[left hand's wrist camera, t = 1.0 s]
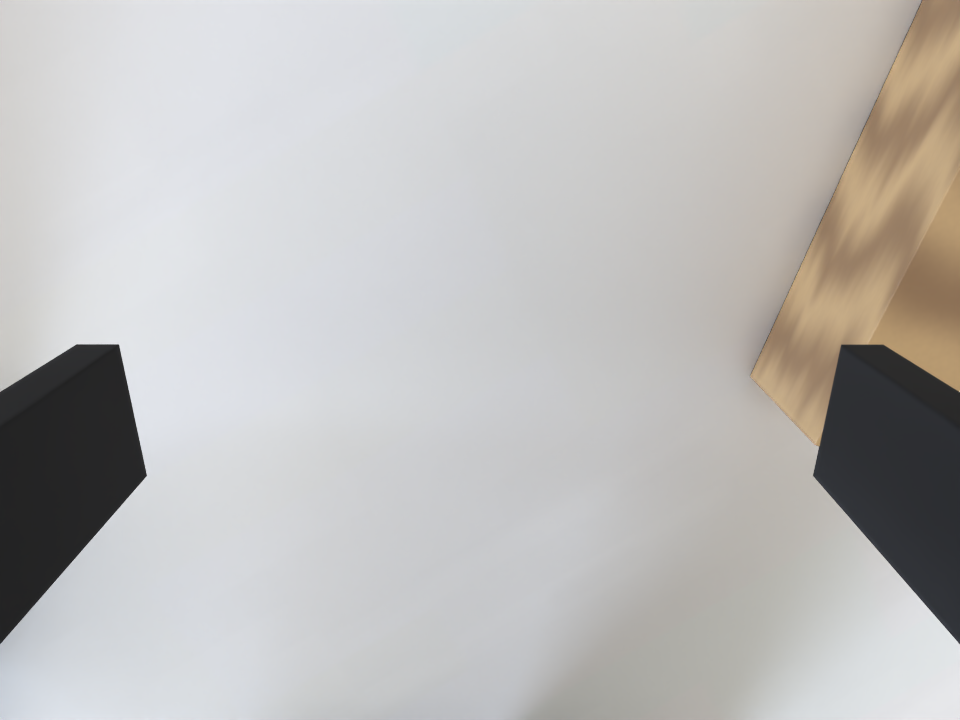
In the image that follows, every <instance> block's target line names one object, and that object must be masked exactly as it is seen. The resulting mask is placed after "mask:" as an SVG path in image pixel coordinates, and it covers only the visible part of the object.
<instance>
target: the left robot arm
mask: <svg viewBox="0 0 960 720" xmlns="http://www.w3.org/2000/svg"><path fill="white" fill-rule="evenodd" d="M146 476H147V474H146V470H145V465H144V460H143V455H142V451H141V446H140V441H139V437H138V432H137V427H136V423H135V418H134V413H133V409H132V404H131V399H130V394H129V390H128V385H127V380H126V376H125V371H124V366H123V362H122V357H121V352H120V348H119V345H75V346H74V347H72V348H70V349H69V350H67V351H66V352H64V353H62V354H61V355H59V356H57V357H56V358H54V359H53V360H51V361H49V362H48V363H46V364H45V365H43V366H41V367H40V368H38V369H37V370H35V371H33V372H32V373H30V374H29V375H27V376H25V377H24V378H22V379H21V380H19V381H17V382H16V383H14V384H12V385H11V386H9V387H8V388H6V389H4V390H3V391H1V392H0V644H1V643H2V641H3V640H4V639H5V638H6V637H7V636H8V634H9V633H10V632H11V631H12V630H13V629H14V628H15V626H16V625H17V624H18V623H19V622H20V621H21V620H22V618H23V617H24V616H25V615H26V614H27V613H28V612H29V610H30V609H31V608H32V607H33V606H34V605H35V603H36V602H37V601H38V600H39V599H40V598H41V597H42V595H43V594H44V593H45V592H46V591H47V590H48V589H49V587H50V586H51V585H52V584H53V583H54V582H55V581H56V579H57V578H58V577H59V576H60V575H61V574H62V573H63V571H64V570H65V569H66V568H67V567H68V566H69V564H70V563H71V562H72V561H73V560H74V559H75V558H76V556H77V555H78V554H79V553H80V552H81V551H82V550H83V548H84V547H85V546H86V545H87V544H88V543H89V542H90V540H91V539H92V538H93V537H94V536H95V535H96V534H97V532H98V531H99V530H100V529H101V528H102V527H103V525H104V524H105V523H106V522H107V521H108V520H109V519H110V517H111V516H112V515H113V514H114V513H115V512H116V511H117V509H118V508H119V507H120V506H121V505H122V504H123V503H124V501H125V500H126V499H127V498H128V497H129V496H130V494H131V493H132V492H133V491H134V490H135V489H136V488H137V486H138V485H139V484H140V483H141V482H142V481H143V480H144V478H145V477H146ZM813 476H814V477H815V478H816V480H817V481H818V482H819V483H820V484H821V485H822V486H823V488H824V489H825V490H826V491H827V492H828V493H829V494H830V496H831V497H832V498H833V499H834V500H835V501H836V503H837V504H838V505H839V506H840V507H841V508H842V509H843V511H844V512H845V513H846V514H847V515H848V516H849V517H850V519H851V520H852V521H853V522H854V523H855V524H856V525H857V527H858V528H859V529H860V530H861V531H862V532H863V534H864V535H865V536H866V537H867V538H868V539H869V540H870V542H871V543H872V544H873V545H874V546H875V547H876V548H877V550H878V551H879V552H880V553H881V554H882V555H883V556H884V558H885V559H886V560H887V561H888V562H889V563H890V564H891V566H892V567H893V568H894V569H895V570H896V571H897V573H898V574H899V575H900V576H901V577H902V578H903V579H904V581H905V582H906V583H907V584H908V585H909V586H910V587H911V589H912V590H913V591H914V592H915V593H916V594H917V595H918V597H919V598H920V599H921V600H922V601H923V602H924V603H925V605H926V606H927V607H928V608H929V609H930V610H931V612H932V613H933V614H934V615H935V616H936V617H937V618H938V620H939V621H940V622H941V623H942V624H943V625H944V626H945V628H946V629H947V630H948V631H949V632H950V633H951V634H952V636H953V637H954V638H955V639H956V640H957V641H958V643H959V644H960V392H959V391H957V390H956V389H954V388H952V387H951V386H949V385H948V384H946V383H944V382H943V381H941V380H939V379H938V378H936V377H935V376H933V375H931V374H930V373H928V372H927V371H925V370H923V369H922V368H920V367H919V366H917V365H915V364H914V363H912V362H911V361H909V360H907V359H906V358H904V357H903V356H901V355H899V354H898V353H896V352H894V351H893V350H891V349H890V348H888V347H886V346H885V345H841V348H840V352H839V357H838V362H837V366H836V371H835V376H834V380H833V385H832V390H831V394H830V399H829V404H828V409H827V413H826V418H825V423H824V427H823V432H822V437H821V441H820V446H819V451H818V455H817V460H816V465H815V470H814V474H813Z"/></svg>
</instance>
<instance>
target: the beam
mask: <svg viewBox="0 0 960 720" xmlns="http://www.w3.org/2000/svg"><path fill="white" fill-rule="evenodd" d="M841 345H885V346H886V347H888V348H890V349H891V350H893V351H894V352H896V353H898V354H899V355H901V356H903V357H904V358H906V359H907V360H909V361H911V362H912V363H914V364H915V365H917V366H919V367H920V368H922V369H923V370H925V371H927V372H928V373H930V374H931V375H933V376H935V377H936V378H938V379H939V380H941V381H943V382H944V383H946V384H948V385H949V386H951V387H952V388H954V389H956V390H957V391H960V0H922V3H921V5H920V7H919V9H918V11H917V14H916V16H915V18H914V20H913V22H912V24H911V27H910V29H909V31H908V33H907V35H906V38H905V40H904V42H903V44H902V46H901V48H900V51H899V53H898V55H897V57H896V59H895V62H894V64H893V66H892V68H891V70H890V72H889V75H888V77H887V79H886V81H885V83H884V86H883V88H882V90H881V92H880V94H879V96H878V99H877V101H876V103H875V105H874V107H873V110H872V112H871V114H870V116H869V118H868V120H867V123H866V125H865V127H864V129H863V131H862V134H861V136H860V138H859V140H858V142H857V144H856V147H855V149H854V151H853V153H852V155H851V157H850V160H849V162H848V164H847V166H846V168H845V171H844V173H843V175H842V177H841V179H840V181H839V184H838V186H837V188H836V190H835V192H834V195H833V197H832V199H831V201H830V203H829V205H828V208H827V210H826V212H825V214H824V216H823V219H822V221H821V223H820V225H819V227H818V229H817V232H816V234H815V236H814V238H813V240H812V243H811V245H810V247H809V249H808V251H807V253H806V256H805V258H804V260H803V262H802V264H801V267H800V269H799V271H798V273H797V275H796V277H795V280H794V282H793V284H792V286H791V288H790V291H789V293H788V295H787V297H786V299H785V301H784V304H783V306H782V308H781V310H780V312H779V315H778V317H777V319H776V321H775V323H774V325H773V328H772V330H771V332H770V334H769V336H768V339H767V341H766V343H765V345H764V347H763V349H762V352H761V354H760V356H759V358H758V360H757V362H756V365H755V367H754V369H753V371H752V373H751V376H750V377H751V378H752V379H753V380H754V381H755V382H756V383H757V384H758V385H759V386H760V388H761V389H762V390H763V391H764V392H765V393H766V394H767V395H768V396H769V397H770V398H771V399H772V400H773V401H774V402H775V403H776V404H777V406H778V407H779V408H780V409H781V410H782V411H783V412H784V413H785V414H786V415H787V416H788V417H789V418H790V419H791V420H792V421H793V422H794V424H795V425H796V426H797V427H798V428H799V429H800V430H801V431H802V432H803V433H804V434H805V435H806V436H807V437H808V438H809V439H810V440H811V441H812V443H813V444H814V445H816V446H820V441H821V437H822V432H823V427H824V423H825V418H826V413H827V409H828V404H829V399H830V394H831V390H832V385H833V380H834V376H835V371H836V366H837V362H838V357H839V352H840V348H841Z"/></svg>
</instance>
